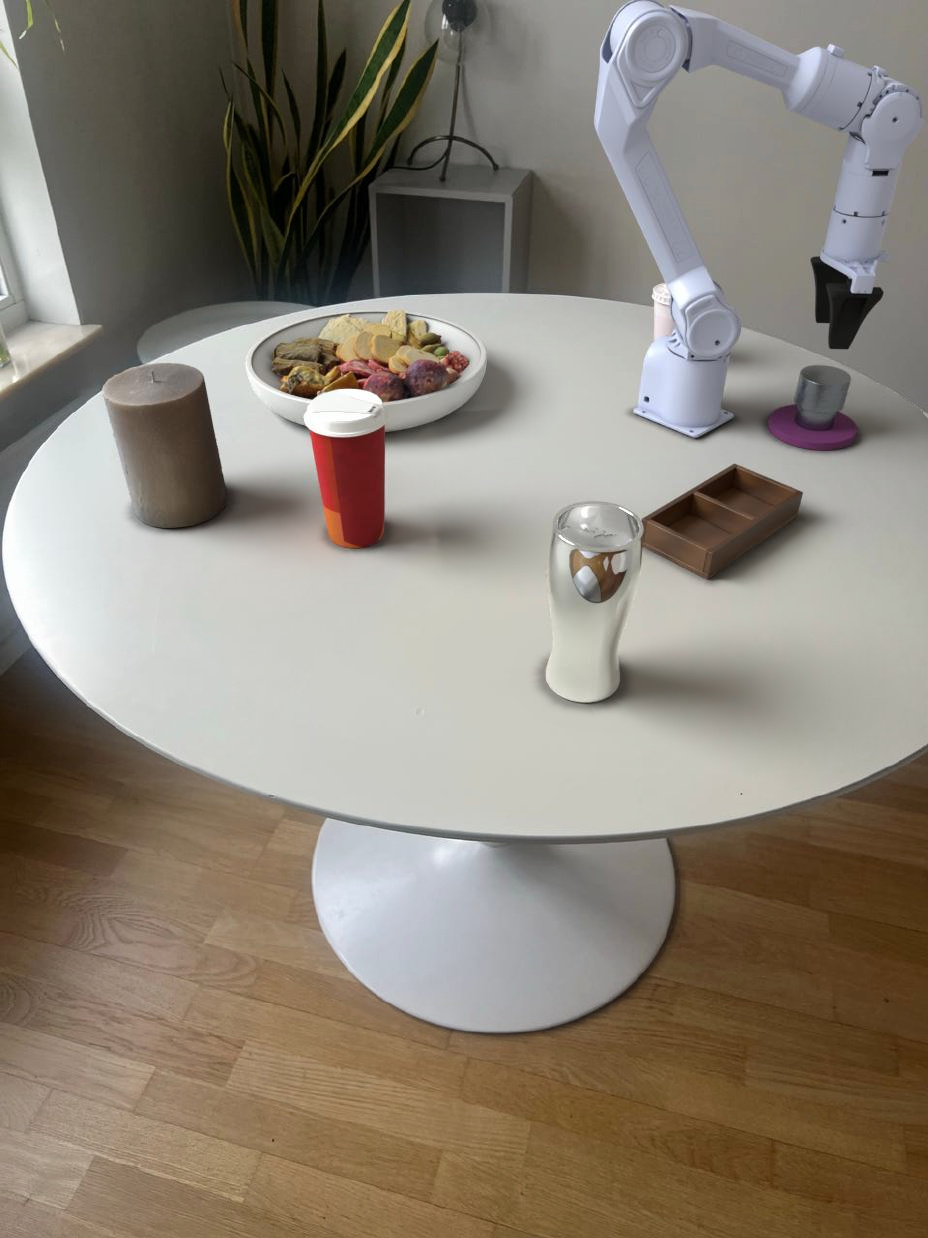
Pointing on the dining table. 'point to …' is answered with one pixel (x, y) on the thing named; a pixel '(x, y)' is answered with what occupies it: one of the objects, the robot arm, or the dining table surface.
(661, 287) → the smoothie
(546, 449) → the dining table surface
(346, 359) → the bowl
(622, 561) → the beer glass
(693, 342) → the robot arm
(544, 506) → the dining table surface
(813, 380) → the grey metal cylinder
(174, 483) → the pillar candle
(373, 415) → the paper cup
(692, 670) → the dining table surface
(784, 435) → the plum lid
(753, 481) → the tray
